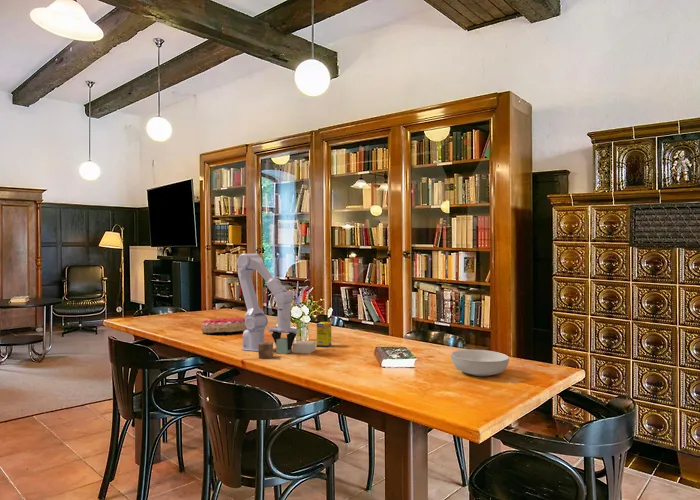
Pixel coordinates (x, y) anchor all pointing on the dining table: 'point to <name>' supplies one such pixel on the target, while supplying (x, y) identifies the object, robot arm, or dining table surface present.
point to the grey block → (304, 347)
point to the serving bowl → (479, 362)
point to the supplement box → (323, 334)
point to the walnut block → (265, 350)
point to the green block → (282, 346)
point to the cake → (223, 325)
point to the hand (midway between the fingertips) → (284, 349)
